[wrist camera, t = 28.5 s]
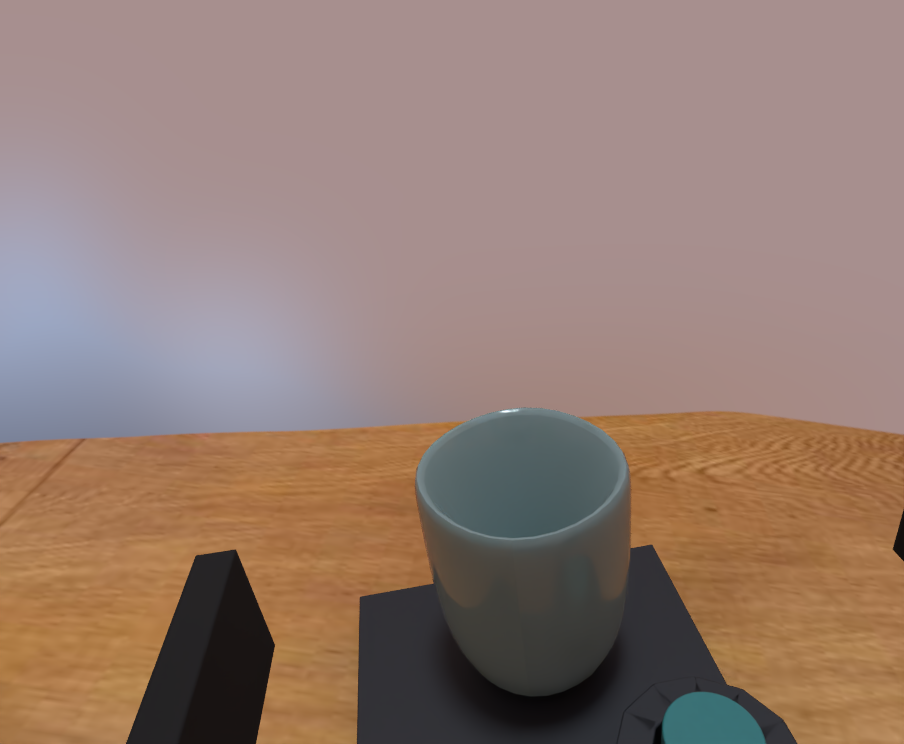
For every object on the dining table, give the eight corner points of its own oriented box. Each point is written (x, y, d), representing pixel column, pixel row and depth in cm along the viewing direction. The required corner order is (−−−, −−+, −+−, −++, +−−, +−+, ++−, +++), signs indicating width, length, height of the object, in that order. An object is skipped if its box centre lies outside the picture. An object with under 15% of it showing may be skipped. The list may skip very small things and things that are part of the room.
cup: (531, 771, 24) (508, 582, 19) (416, 638, 30) (375, 466, 25) (666, 649, 28) (676, 463, 23) (540, 551, 33) (526, 386, 28)
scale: (661, 566, 34) (663, 515, 32) (838, 897, 21) (857, 842, 19) (366, 619, 33) (352, 570, 31) (363, 992, 20) (339, 945, 19)
